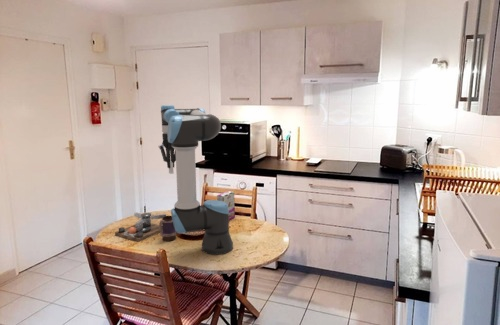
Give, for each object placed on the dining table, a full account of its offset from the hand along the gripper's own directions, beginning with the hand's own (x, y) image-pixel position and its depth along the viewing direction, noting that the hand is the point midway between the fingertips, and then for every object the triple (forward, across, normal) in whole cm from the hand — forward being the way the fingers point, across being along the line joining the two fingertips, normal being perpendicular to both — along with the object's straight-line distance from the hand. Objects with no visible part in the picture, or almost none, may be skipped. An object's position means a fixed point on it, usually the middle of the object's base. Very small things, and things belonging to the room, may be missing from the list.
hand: (171, 173), depth 204 cm
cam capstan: (+28, +19, +2) cm, 34 cm away
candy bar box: (+30, -26, +18) cm, 43 cm away
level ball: (+28, +28, +8) cm, 40 cm away
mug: (+30, +15, +23) cm, 40 cm away
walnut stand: (+29, +22, +4) cm, 37 cm away
